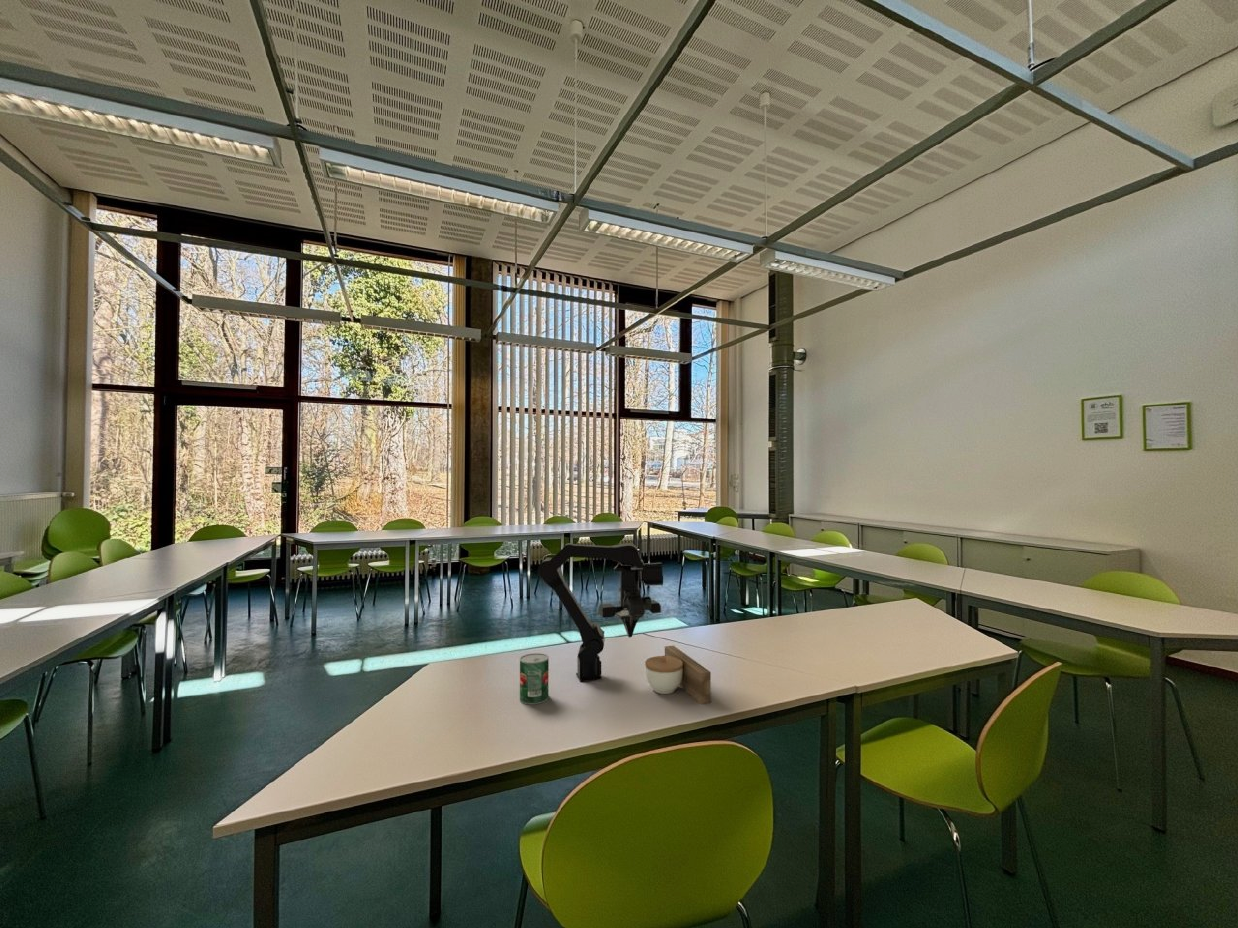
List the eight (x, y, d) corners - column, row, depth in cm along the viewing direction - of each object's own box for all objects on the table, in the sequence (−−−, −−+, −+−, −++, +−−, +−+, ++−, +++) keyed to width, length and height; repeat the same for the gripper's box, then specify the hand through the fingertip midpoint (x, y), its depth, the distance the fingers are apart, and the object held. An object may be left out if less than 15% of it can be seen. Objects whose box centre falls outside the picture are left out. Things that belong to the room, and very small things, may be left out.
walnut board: (700, 703, 133) (700, 673, 134) (664, 672, 156) (664, 646, 156) (710, 702, 134) (710, 671, 134) (673, 671, 157) (673, 645, 157)
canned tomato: (514, 697, 138) (514, 656, 139) (540, 690, 143) (540, 651, 143) (527, 707, 132) (527, 664, 132) (554, 699, 137) (554, 658, 137)
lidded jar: (637, 689, 143) (637, 656, 143) (662, 679, 150) (661, 647, 151) (666, 700, 135) (666, 665, 136) (690, 689, 143) (690, 655, 143)
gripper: (608, 592, 143) (608, 648, 142) (668, 588, 149) (668, 641, 148) (597, 585, 154) (597, 637, 153) (653, 581, 160) (654, 631, 159)
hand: (629, 636), depth 153 cm, fingers closed
